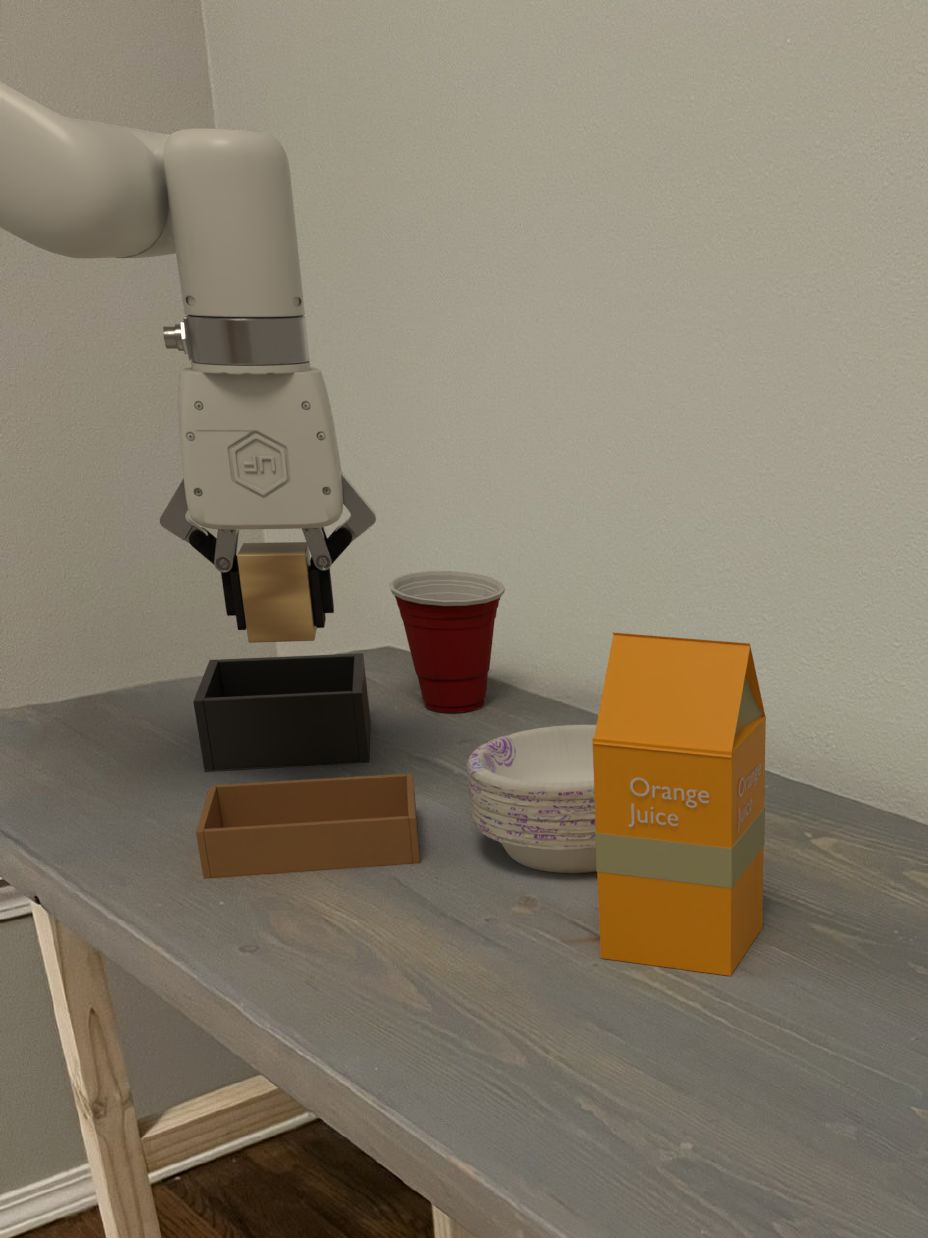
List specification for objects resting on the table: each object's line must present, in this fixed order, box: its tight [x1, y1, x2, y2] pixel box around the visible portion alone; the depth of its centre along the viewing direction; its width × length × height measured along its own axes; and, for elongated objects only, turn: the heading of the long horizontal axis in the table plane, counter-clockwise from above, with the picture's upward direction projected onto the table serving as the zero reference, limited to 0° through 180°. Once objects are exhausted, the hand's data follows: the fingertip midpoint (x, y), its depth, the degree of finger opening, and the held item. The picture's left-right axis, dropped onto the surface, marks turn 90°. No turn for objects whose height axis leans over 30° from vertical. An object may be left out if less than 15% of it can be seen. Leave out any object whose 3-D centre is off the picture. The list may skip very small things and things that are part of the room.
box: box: [195, 772, 421, 880], centre depth 109 cm, size 15×10×4 cm, turn 102°
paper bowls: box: [466, 724, 597, 874], centre depth 109 cm, size 15×15×8 cm
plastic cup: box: [388, 570, 506, 714], centre depth 142 cm, size 11×11×12 cm
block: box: [237, 541, 318, 644], centre depth 104 cm, size 4×4×6 cm
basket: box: [192, 652, 372, 773], centre depth 131 cm, size 14×14×7 cm
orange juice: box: [592, 632, 767, 977], centre depth 92 cm, size 8×9×20 cm
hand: (282, 621), depth 105 cm, fingers closed on block, 4 cm apart
